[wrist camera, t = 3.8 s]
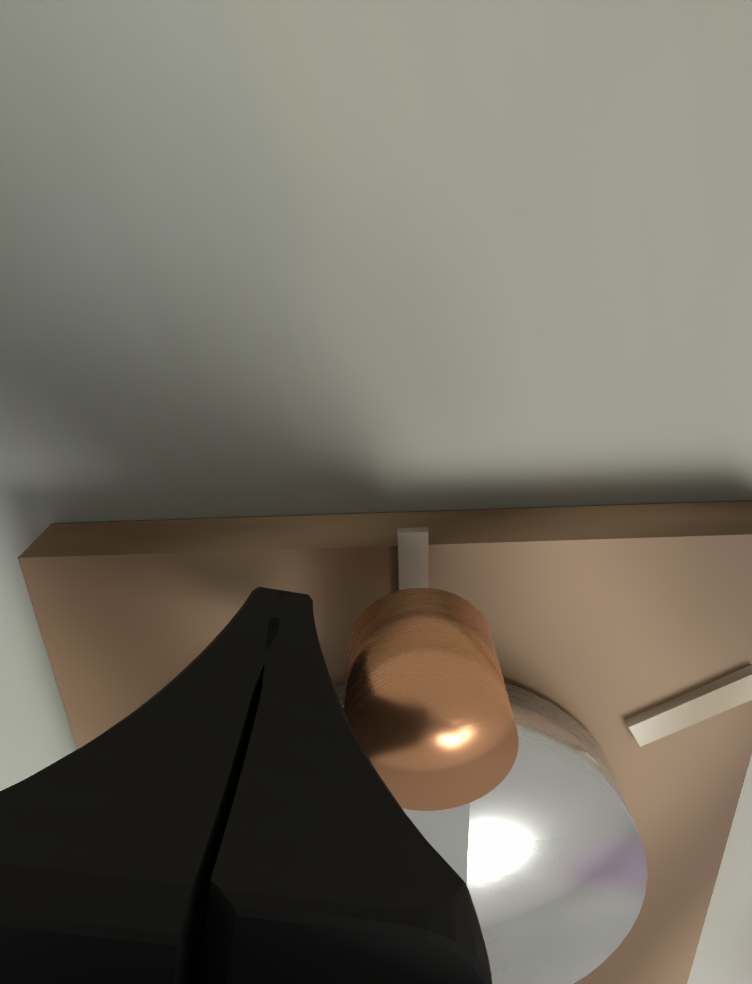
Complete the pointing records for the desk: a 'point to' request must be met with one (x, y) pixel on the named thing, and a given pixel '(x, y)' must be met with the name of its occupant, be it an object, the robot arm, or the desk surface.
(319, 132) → the desk surface
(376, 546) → the dial plate
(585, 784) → the dial
